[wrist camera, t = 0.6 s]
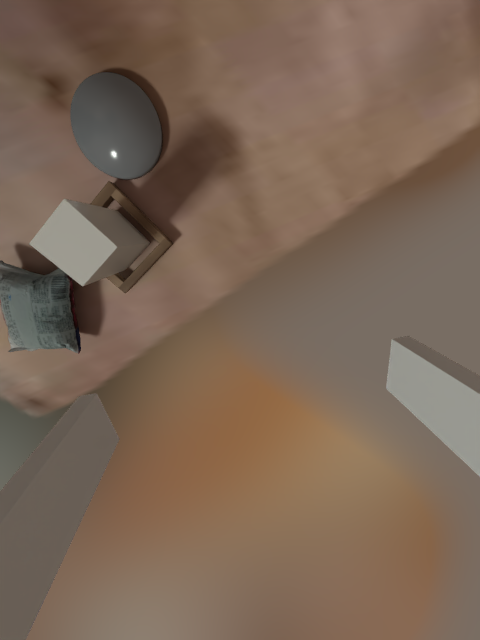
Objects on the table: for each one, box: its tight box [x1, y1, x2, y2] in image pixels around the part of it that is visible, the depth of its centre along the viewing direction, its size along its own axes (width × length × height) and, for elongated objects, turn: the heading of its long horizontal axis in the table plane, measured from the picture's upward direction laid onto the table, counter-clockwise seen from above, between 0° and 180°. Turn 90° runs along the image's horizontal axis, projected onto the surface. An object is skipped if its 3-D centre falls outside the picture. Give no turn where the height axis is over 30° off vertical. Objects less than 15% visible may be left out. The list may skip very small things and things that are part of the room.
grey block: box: [29, 199, 151, 287], centre depth 24 cm, size 5×5×10 cm
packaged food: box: [0, 261, 81, 354], centre depth 29 cm, size 9×12×5 cm
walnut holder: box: [91, 182, 173, 293], centre depth 28 cm, size 9×9×1 cm
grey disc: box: [71, 72, 163, 180], centre depth 24 cm, size 9×9×1 cm
